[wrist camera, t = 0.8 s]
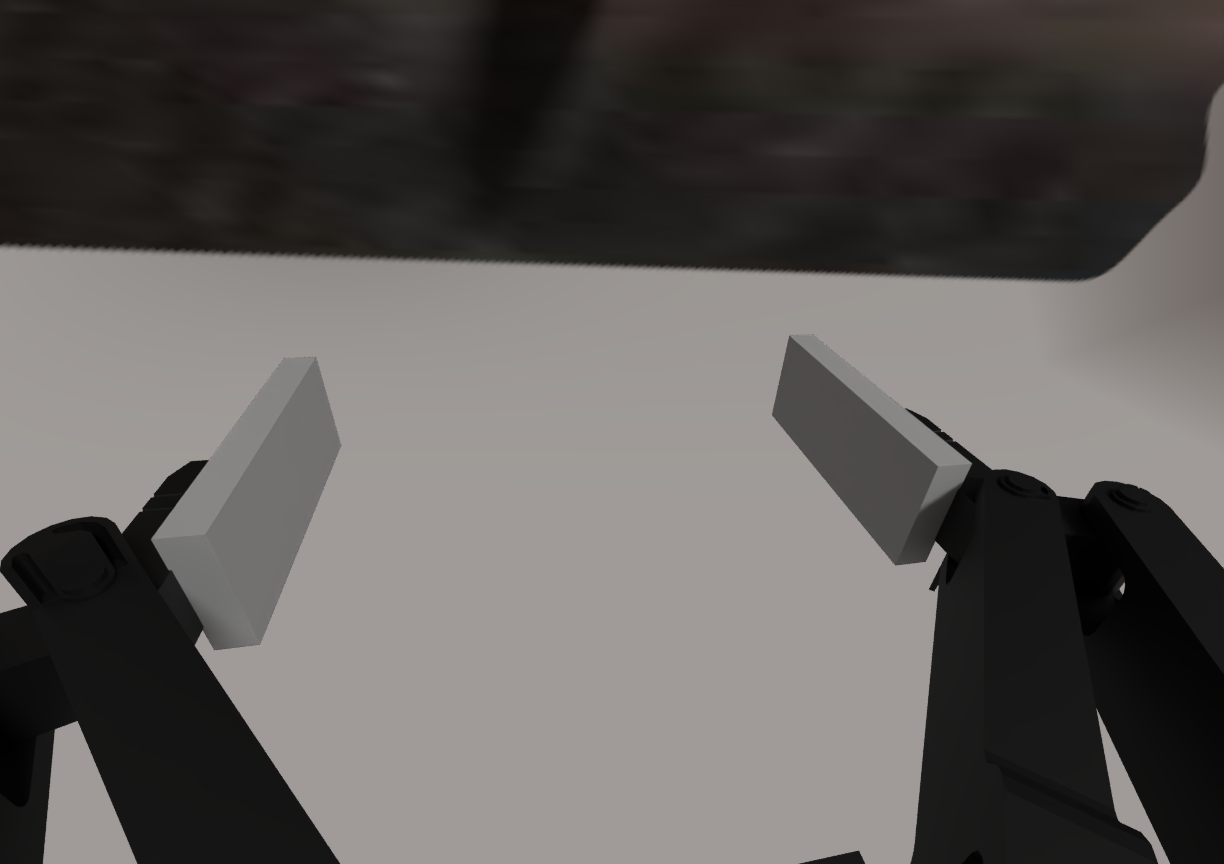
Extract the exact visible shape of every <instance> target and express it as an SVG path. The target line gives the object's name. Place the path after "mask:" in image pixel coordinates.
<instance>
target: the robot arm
mask: <svg viewBox="0 0 1224 864" xmlns="http://www.w3.org/2000/svg"><path fill="white" fill-rule="evenodd" d="M772 415H773V417H774V418H775V419H776V421H777V422H778V423H779V424H780V425H781V427H782V428H783V429H784V430H785V431H786V433H787V434H788V435H789V436H790V437H791V439H792V440H793V441H794V442H795V444H796V445H797V446H798V447H799V449H800V450H801V451H802V452H803V453H804V455H805V456H806V457H807V458H808V459H809V461H810V462H811V463H812V464H813V466H814V467H815V468H816V469H817V471H818V472H819V473H820V474H821V475H822V477H823V478H824V479H825V480H826V481H827V483H828V484H829V485H830V486H831V488H832V489H833V490H834V491H835V492H836V494H837V495H838V496H839V497H840V499H841V500H842V501H843V502H844V503H845V505H846V506H847V507H848V508H849V510H850V511H851V512H852V513H853V514H854V516H855V517H856V518H857V519H858V521H859V522H860V523H861V524H862V525H863V527H864V528H865V529H866V530H867V531H868V533H869V534H870V535H871V536H872V538H874V540H875V541H876V542H877V544H878V545H879V546H880V547H881V549H882V550H883V551H884V552H885V553H886V555H887V556H888V557H889V558H890V559H891V561H892V562H893V563H894V564H895V565H903V564H910V563H919V562H926V560H927V558H928V556H929V553H930V551H931V549H932V547H933V545H934V543H935V541H936V542H937V543H938V544H939V545H940V546H941V547H942V548H943V549H944V551H945V552H946V553H947V554H946V556H945V558H944V560H943V562H942V564H941V566H940V568H939V570H938V572H937V574H936V576H935V578H934V580H933V582H932V584H931V586H930V588H929V589H930V590H932V591H935V589H936V588H937V586H939V588H938V599H937V610H936V621H935V631H934V642H933V653H932V665H931V674H930V685H929V696H928V707H927V718H926V729H925V739H924V750H923V761H922V771H921V783H920V793H919V803H918V814H917V825H916V837H915V845H914V852H913V856H912V860H911V864H1158V862H1157V859H1156V856H1155V853H1154V851H1153V848H1152V845H1151V844H1150V842H1149V841H1148V840H1147V839H1146V838H1145V837H1144V835H1143V834H1142V833H1141V832H1139V831H1137V830H1135V829H1133V828H1131V827H1129V826H1127V825H1125V824H1122V823H1120V822H1119V821H1118V819H1117V816H1116V812H1115V809H1114V804H1113V799H1112V794H1111V787H1110V782H1109V776H1108V771H1107V765H1106V760H1105V754H1104V749H1103V743H1102V738H1101V732H1100V727H1099V721H1098V716H1097V710H1098V712H1099V714H1100V716H1101V719H1102V721H1103V723H1104V725H1105V727H1106V729H1107V731H1108V733H1109V735H1110V738H1111V740H1112V742H1113V744H1114V746H1115V748H1116V750H1117V752H1118V754H1119V757H1120V758H1121V761H1122V763H1123V765H1124V767H1125V769H1126V771H1127V773H1128V776H1129V778H1130V780H1131V782H1132V784H1133V786H1134V788H1135V790H1136V792H1137V794H1138V797H1139V799H1140V801H1141V803H1142V805H1143V807H1144V809H1145V811H1146V813H1147V816H1148V818H1149V820H1150V822H1151V824H1152V826H1153V828H1154V830H1155V832H1156V834H1157V837H1158V839H1159V841H1160V843H1161V845H1162V847H1163V849H1164V851H1165V853H1166V856H1167V857H1168V860H1169V862H1170V864H1224V569H1223V567H1222V566H1221V565H1220V564H1219V563H1218V561H1217V560H1216V559H1215V558H1214V557H1213V556H1212V555H1211V553H1210V552H1209V551H1208V550H1207V549H1206V548H1205V547H1204V545H1202V543H1201V542H1200V541H1199V540H1198V539H1197V537H1196V536H1195V535H1194V534H1193V533H1192V532H1191V531H1190V530H1189V528H1188V527H1187V526H1186V525H1185V524H1184V523H1183V521H1182V520H1181V519H1180V518H1179V517H1178V516H1177V515H1176V514H1175V512H1174V511H1173V510H1172V509H1171V508H1170V507H1169V506H1168V505H1167V504H1165V503H1164V502H1163V501H1162V500H1161V499H1159V498H1157V497H1155V496H1154V495H1152V494H1150V492H1148V491H1147V490H1144V489H1142V488H1138V487H1137V486H1134V485H1131V484H1124V483H1120V482H1113V481H1102V482H1097V483H1095V484H1094V486H1093V487H1092V488H1091V490H1090V491H1089V493H1088V495H1087V496H1086V498H1085V499H1077V498H1068V497H1061V496H1056V494H1055V492H1054V491H1053V490H1052V489H1051V488H1049V487H1048V486H1047V485H1046V484H1045V483H1043V482H1041V481H1039V480H1037V479H1036V478H1034V477H1032V476H1029V475H1026V474H1023V473H1020V472H1016V471H1011V470H1006V469H1005V470H1004V469H1002V470H991V469H990V468H989V467H988V466H986V465H985V464H984V463H983V462H981V461H980V460H979V459H977V458H976V457H975V456H974V455H972V454H971V453H970V452H969V451H967V450H966V449H965V448H963V447H962V446H961V445H960V444H959V443H957V442H956V441H955V442H953V439H952V438H951V437H950V436H949V435H947V434H946V433H945V432H941V429H939V428H938V427H937V426H936V425H935V424H933V423H932V422H931V421H930V420H928V419H927V418H925V417H923V416H921V415H919V414H917V413H915V412H913V411H911V410H909V409H907V408H906V409H904V408H903V407H902V406H900V405H899V404H898V403H897V402H896V401H894V400H893V399H892V398H891V397H889V396H888V395H887V394H886V393H884V392H883V391H882V390H881V389H880V388H878V387H877V386H876V385H875V384H873V383H872V382H871V381H870V380H869V379H867V378H866V377H865V376H863V375H862V374H861V373H860V372H859V371H857V370H856V369H855V368H854V367H852V366H851V365H850V364H849V363H848V362H846V361H845V360H844V359H843V358H841V357H840V356H839V355H838V354H837V353H835V352H834V351H833V350H832V349H830V348H829V347H828V346H827V345H825V344H824V343H823V342H822V341H820V340H819V339H818V338H817V337H816V336H814V335H791V336H789V340H788V344H787V349H786V353H785V358H784V362H783V367H782V371H781V376H780V381H779V385H778V390H777V395H776V399H775V404H774V408H773V413H772ZM340 447H341V443H340V440H339V436H338V433H337V429H336V426H335V422H334V419H333V415H332V411H331V408H330V404H329V401H328V397H327V394H326V390H325V387H324V383H323V380H322V377H321V373H320V369H319V366H318V362H317V359H316V357H303V358H284V359H283V360H282V362H281V363H280V364H279V366H278V367H277V368H276V370H275V371H274V372H273V374H272V375H271V377H270V378H269V379H268V381H267V382H266V384H265V385H264V386H263V388H262V389H261V390H260V392H259V393H258V394H257V396H256V397H255V398H254V400H253V401H252V402H251V404H250V405H249V407H248V408H247V409H246V411H245V412H244V413H243V415H242V416H241V417H240V419H239V420H238V421H237V423H236V424H235V426H234V427H233V428H232V430H231V431H230V432H229V434H228V435H227V437H226V438H225V439H224V441H223V442H222V443H221V445H220V446H219V447H218V449H217V450H216V452H215V453H214V454H213V456H212V457H211V458H210V460H203V461H191V462H189V463H188V464H186V465H185V466H183V467H182V468H180V469H179V470H177V471H176V472H174V473H173V474H171V475H170V476H168V477H167V479H166V480H165V481H164V482H163V484H162V485H161V486H160V487H159V489H158V490H157V491H156V492H155V493H154V497H153V498H150V500H149V501H148V502H147V503H146V505H145V506H144V507H143V512H139V513H138V515H137V516H136V517H135V518H134V519H133V521H132V522H131V523H130V524H129V526H128V527H127V528H126V529H125V531H124V532H123V533H122V534H121V532H120V530H119V529H118V527H117V525H116V524H115V523H114V522H112V521H111V520H109V519H108V518H103V517H93V516H91V517H83V518H76V519H71V520H68V521H64V522H61V523H58V524H55V525H51V526H49V527H47V528H45V529H43V530H41V531H38V532H36V533H35V534H32V535H30V536H28V537H27V538H25V539H24V540H23V541H21V542H20V543H18V544H17V545H16V546H14V547H13V548H11V550H10V551H9V552H8V553H7V554H6V556H5V557H4V558H3V559H2V560H1V566H0V572H1V573H2V574H3V576H4V577H5V578H6V579H7V581H8V582H9V583H10V584H11V586H12V587H13V588H14V589H15V590H16V592H17V593H18V594H19V595H20V597H21V598H22V599H23V600H24V602H25V603H26V604H27V606H24V607H21V608H17V609H13V610H10V611H7V612H3V613H0V864H43V854H44V843H45V833H46V821H47V810H48V799H49V788H50V777H51V765H52V755H53V743H54V732H55V729H57V728H60V727H62V726H65V725H68V724H70V723H73V722H76V721H78V723H79V725H80V728H81V730H82V732H83V735H84V737H85V739H86V742H87V744H88V747H89V749H90V751H91V754H92V756H93V759H94V761H95V763H96V766H97V768H98V770H99V773H100V775H101V778H102V780H103V782H104V785H105V787H106V790H107V792H108V794H109V797H110V799H111V801H112V804H113V806H114V809H115V811H116V814H117V816H118V818H119V821H120V823H121V825H122V828H123V830H124V833H125V835H126V837H127V840H128V842H129V844H130V847H131V849H132V852H133V854H134V856H135V859H136V861H137V864H340V863H339V861H338V860H337V858H336V857H335V856H334V854H333V853H332V851H331V849H330V848H329V846H328V845H327V843H326V842H325V841H324V839H323V837H322V836H321V834H320V833H319V831H318V830H317V828H316V827H315V825H314V824H313V822H312V821H311V819H310V818H309V816H308V815H307V814H306V812H305V810H304V809H303V807H302V806H301V804H300V803H299V801H298V800H297V799H296V797H295V795H294V794H293V793H292V791H291V789H290V788H289V786H288V785H287V783H286V782H285V780H284V779H283V777H282V776H281V775H280V773H279V771H278V770H277V768H276V767H275V765H274V764H273V762H272V761H271V759H270V758H269V756H268V755H267V753H266V752H265V750H264V749H263V747H262V746H261V744H260V743H259V741H258V740H257V739H256V737H255V736H254V734H253V733H252V731H251V730H250V728H249V726H248V725H247V724H246V722H245V720H244V719H243V718H242V716H241V715H240V713H239V712H238V710H237V709H236V707H235V706H234V704H233V703H232V701H231V700H230V698H229V697H228V695H227V694H226V692H225V691H224V689H223V688H222V686H221V685H220V683H219V682H218V680H217V679H216V677H215V676H214V674H213V673H212V671H211V670H210V668H209V667H208V665H207V664H206V662H205V661H204V659H203V658H202V656H201V655H200V653H199V652H198V650H197V649H196V647H195V646H194V645H195V643H196V641H197V640H198V638H199V636H200V634H201V632H202V630H203V631H204V633H205V635H206V637H207V638H208V640H209V642H210V644H211V645H212V647H213V649H214V650H220V649H228V648H237V647H244V646H252V645H260V643H261V641H262V638H263V636H264V633H265V631H266V629H267V626H268V624H269V621H270V619H271V616H272V614H273V611H274V609H275V606H276V604H277V602H278V599H279V596H280V594H281V592H282V589H283V587H284V584H285V582H286V579H287V577H288V574H289V572H290V570H291V567H292V565H293V562H294V560H295V557H296V555H297V552H298V550H299V547H300V545H301V543H302V540H303V538H304V535H305V533H306V530H307V528H308V526H309V523H310V521H311V518H312V516H313V513H314V511H315V508H316V506H317V503H318V501H319V498H320V496H321V493H322V491H323V489H324V486H325V484H326V481H327V479H328V476H329V474H330V472H331V469H332V466H333V464H334V462H335V459H336V457H337V454H338V452H339V449H340ZM1124 582H1125V589H1124V593H1123V595H1122V593H1121V592H1120V590H1119V589H1120V587H1121V586H1122V585H1123V583H1124ZM1096 708H1097V710H1096ZM800 864H865V862H864V860H863V858H862V856H861V854H860V852H859V851H855V852H850V853H846V854H841V855H837V856H832V857H827V858H823V859H818V860H814V861H809V862H805V863H800Z"/></svg>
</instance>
